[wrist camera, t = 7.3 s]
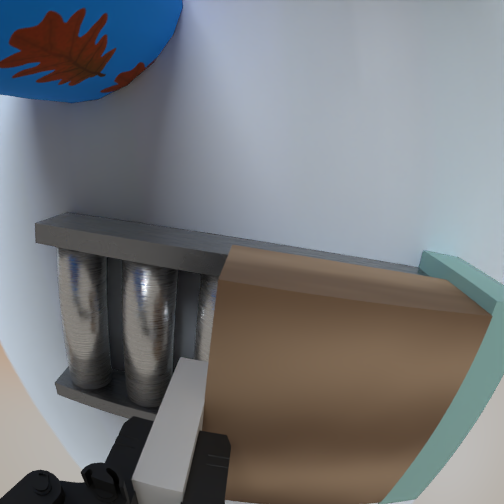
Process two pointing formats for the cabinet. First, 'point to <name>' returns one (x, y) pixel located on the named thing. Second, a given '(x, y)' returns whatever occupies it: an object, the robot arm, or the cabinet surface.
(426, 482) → the stop block
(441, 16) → the cabinet surface
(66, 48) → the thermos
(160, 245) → the roller bed
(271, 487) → the slab
